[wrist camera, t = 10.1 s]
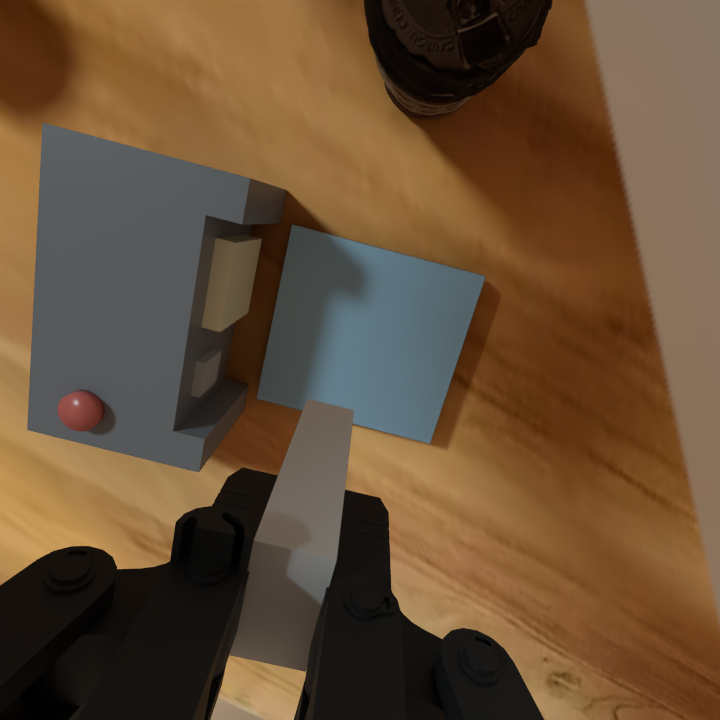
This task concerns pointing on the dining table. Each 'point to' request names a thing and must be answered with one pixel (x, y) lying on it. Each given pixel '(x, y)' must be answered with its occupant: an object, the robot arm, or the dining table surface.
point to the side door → (367, 332)
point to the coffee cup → (448, 47)
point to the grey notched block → (140, 297)
